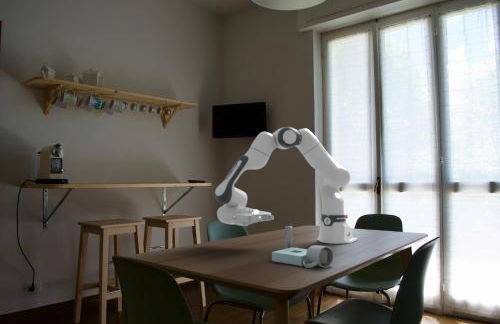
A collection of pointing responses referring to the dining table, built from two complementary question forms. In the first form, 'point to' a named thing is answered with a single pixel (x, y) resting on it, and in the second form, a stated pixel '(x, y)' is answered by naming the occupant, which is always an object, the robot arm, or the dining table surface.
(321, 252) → the ceramic mug
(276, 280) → the dining table surface
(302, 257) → the socket block
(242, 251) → the dining table surface
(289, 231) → the pin
